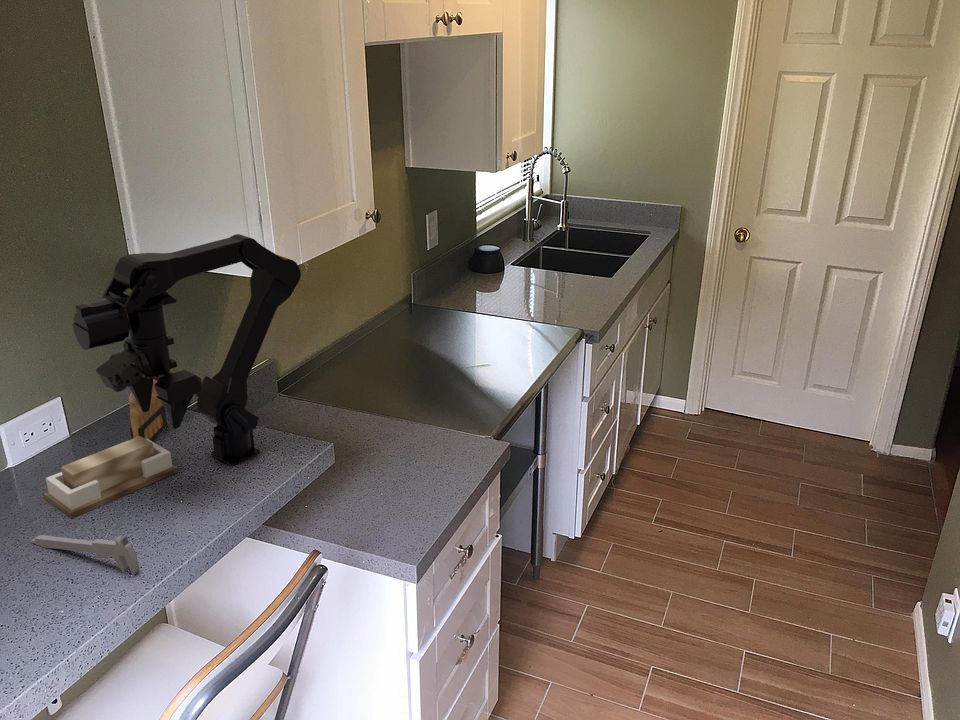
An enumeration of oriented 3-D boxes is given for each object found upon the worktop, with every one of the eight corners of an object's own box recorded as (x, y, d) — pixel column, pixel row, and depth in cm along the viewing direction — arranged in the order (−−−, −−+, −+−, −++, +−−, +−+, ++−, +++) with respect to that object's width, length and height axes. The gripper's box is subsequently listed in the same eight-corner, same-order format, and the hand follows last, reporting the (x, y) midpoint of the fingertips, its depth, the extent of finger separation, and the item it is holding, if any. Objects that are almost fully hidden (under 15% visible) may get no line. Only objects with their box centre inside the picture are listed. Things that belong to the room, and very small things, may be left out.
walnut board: (150, 455, 145) (149, 450, 144) (177, 471, 140) (177, 467, 139) (44, 498, 131) (43, 493, 130) (71, 518, 126) (70, 513, 125)
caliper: (140, 573, 114) (134, 537, 112) (135, 578, 113) (128, 542, 111) (35, 540, 121) (27, 506, 118) (29, 544, 120) (21, 509, 117)
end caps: (148, 453, 144) (146, 438, 142) (172, 466, 139) (170, 452, 138) (48, 493, 130) (45, 478, 129) (71, 510, 126) (68, 494, 125)
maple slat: (143, 460, 141) (139, 435, 139) (156, 467, 139) (152, 443, 137) (66, 492, 131) (60, 466, 129) (78, 501, 128) (73, 475, 127)
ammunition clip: (142, 453, 145) (133, 395, 141) (133, 452, 145) (123, 394, 141) (168, 426, 155) (160, 371, 151) (158, 426, 155) (150, 370, 151)
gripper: (69, 332, 126) (86, 419, 132) (132, 363, 115) (146, 455, 121) (134, 315, 134) (147, 397, 140) (199, 342, 123) (209, 430, 129)
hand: (160, 419), depth 132 cm, fingers open, 9 cm apart
